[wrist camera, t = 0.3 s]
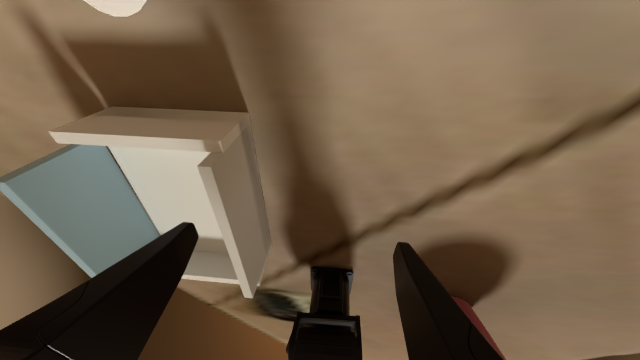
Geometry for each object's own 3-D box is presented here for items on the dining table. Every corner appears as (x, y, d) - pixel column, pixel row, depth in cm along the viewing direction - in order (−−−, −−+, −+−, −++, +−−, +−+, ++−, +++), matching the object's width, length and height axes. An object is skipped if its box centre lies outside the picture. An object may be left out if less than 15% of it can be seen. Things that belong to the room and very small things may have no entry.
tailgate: (165, 243, 31) (121, 299, 25) (153, 242, 31) (107, 297, 25) (99, 135, 22) (4, 182, 16) (84, 134, 22) (-17, 181, 16)
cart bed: (272, 246, 33) (254, 302, 27) (182, 239, 34) (144, 291, 28) (248, 112, 22) (206, 154, 15) (112, 106, 22) (18, 143, 16)
